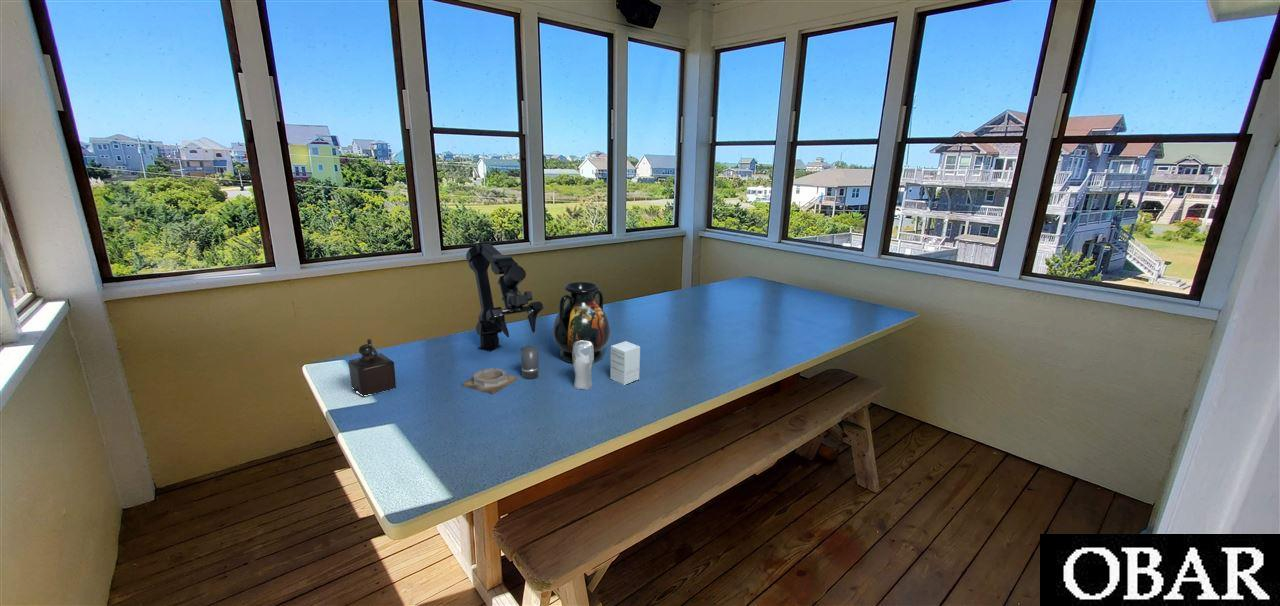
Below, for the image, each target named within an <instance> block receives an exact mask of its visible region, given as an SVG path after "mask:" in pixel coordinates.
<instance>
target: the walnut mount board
mask: <svg viewBox="0 0 1280 606" xmlns="http://www.w3.org/2000/svg"><path fill="white" fill-rule="evenodd" d="M472 375H473V376H472V377H471V378H469V379H468V380H466V381H464V382H462V387H465V386H466V388H469V389H473V390H475V391H476V390H477V391H480V392H484V393H488V394H491V395H494V394H496V393H497V392H499V391H501V390H503V389H504V388H505V387H507V386H509V385H511V384H513V383H514V382H516V381H517V380H518V376H514V375H509V374H507V370H505V369H501V368H497V367H490V368H482V369H480V370H477V371H476V372H474V373H472Z"/></svg>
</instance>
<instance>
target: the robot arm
mask: <svg viewBox="0 0 1280 606" xmlns="http://www.w3.org/2000/svg"><path fill="white" fill-rule="evenodd" d="M465 257H466V261H467V263H468V266H469V268H470V269H471V270H472V271H473V273H474V275H475V281H476V286H477V291H478V297H479V302H480V312H479V315H478V321H477V324H476V326H475V332H476V334H477V335H479V337H480V346H478V347H477V349H479V350H482V351H487V352H492V351H495V350H497V349H499V348H501V347H502V345H501V344H500V337H499V334H501V333H503V334H504V335H505V337H506V338H509V337H510V333H509V330H508V325H507V323H506V320H505V316H507V315H513V314H514V315H515V314H522V313H527V314H528V315H527V320H528V322H529V326H530V330H531V331H532V334H534V333H535V331H536V323H537V322H536V321H537V316H538V314H539V313H540V312H541V311H542V310H543V309H544V305H543V303H542V302H541V301H533V299H534V298H533V294H532V293H533V292H532V291H531V290H527V291H524V292H523V293H524V294H522V291H521V290H519V287H518V286H519V285H520V284H521V283H522V282H523V281H524V280H525V279H526V276H527V272H526V270H525V269H524V267H522V266H521V265H519V264H518V262H516V261H515V259H513V257H512V256H510V255H507V254H503V253H501V252H500V251H499V250H497V248H496V247H494V245H493V244H492V242H491V241H478V242H477V243H476V244H474V245H473V246H471V247H470V248H469V249H468V250H467V252H466V254H465ZM489 267H490V269H491V271H492V272H493V273H494V275H496V276H497V275H501V276H499V278H498V280H497V284H498V285H499V288H500V291H501V296H502V297H501V300H502V301H503V303H504V304H503V305H504V309H503V308H502V307H501V306H498V307H497V306H496V307H495V306H494V305H495V304H494V300H493V296H492V288H491V283H490V279H489V272H488V270H489ZM530 301H531V302H530ZM532 301H533V302H532ZM529 302H530V303H529Z"/></svg>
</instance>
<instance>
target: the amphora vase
mask: <svg viewBox="0 0 1280 606" xmlns="http://www.w3.org/2000/svg"><path fill="white" fill-rule="evenodd" d="M563 288H564V290H565V291H566V292H568V293H569V294H568V295H567V294H566V295H563V296H561V298H560V300H559V305H558V306H559V307H558V309H559V311H558V312H557V315H556V316H555V319H554V323H553V327H552V337H553V340H554V342H555V345H556V346H557V347H558V348H559V349H560V351H559V356H560V358H561V359H562V360H563V361H565V362H568V363H570V364H571V363H572V364H573V358H572V353H573V343H574V342H576V341H581V340H586V341H591V342H592V343H593V349H594V360H593V363H595V362H597V361H600V359H602V357H603V356H604V350H603V349H604V348H605V347H606V345H607V344H608V343H609V340H610V337H611V326H610V321H609V318H608V316H607V314H606V312H605V311H604V295H603V292H602V291H601V290H600V286H599V285H598V284H597V283H593V282H588V281H587V282H584V281H578V282H569V283H567V284H565V285H564V287H563ZM596 295H598V303H597V302H596V300H595V298H596V297H595V296H596ZM567 299H568V301H567ZM566 301H567V302H566ZM565 302H566V304H565Z"/></svg>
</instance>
